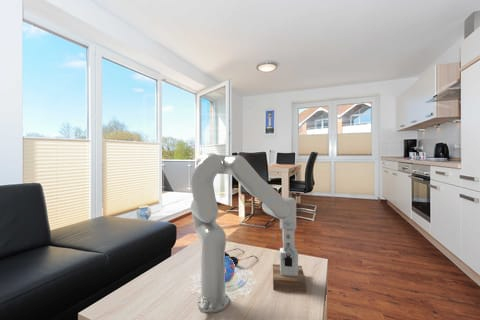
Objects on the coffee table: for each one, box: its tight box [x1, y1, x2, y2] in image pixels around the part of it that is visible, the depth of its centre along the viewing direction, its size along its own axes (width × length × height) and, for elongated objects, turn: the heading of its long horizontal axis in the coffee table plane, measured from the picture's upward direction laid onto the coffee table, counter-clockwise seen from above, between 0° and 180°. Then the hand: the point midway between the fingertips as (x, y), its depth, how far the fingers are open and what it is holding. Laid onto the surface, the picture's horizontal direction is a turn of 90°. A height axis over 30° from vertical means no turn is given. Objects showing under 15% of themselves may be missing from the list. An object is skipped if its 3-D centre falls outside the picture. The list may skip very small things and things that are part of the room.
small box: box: [279, 247, 299, 276], centre depth 104 cm, size 8×6×10 cm
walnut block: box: [272, 263, 307, 293], centre depth 105 cm, size 14×14×5 cm
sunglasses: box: [225, 248, 258, 268], centre depth 129 cm, size 14×16×5 cm
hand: (288, 261), depth 105 cm, fingers open, 9 cm apart
